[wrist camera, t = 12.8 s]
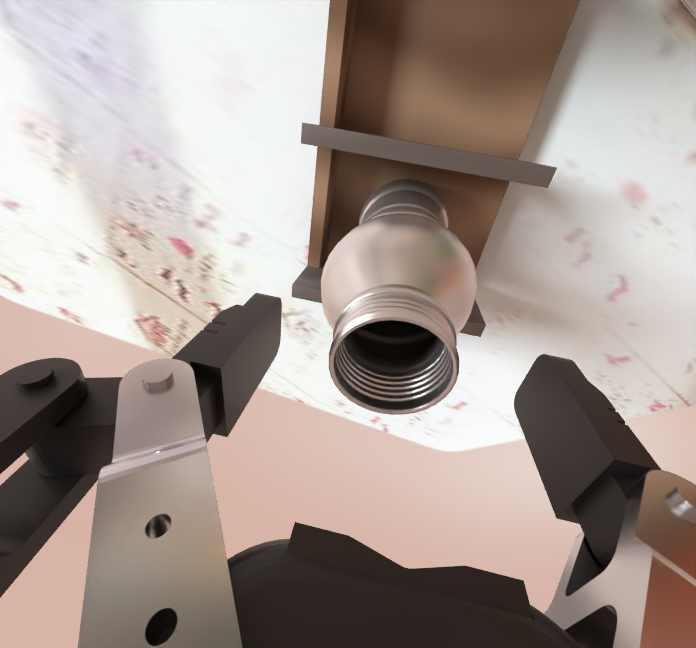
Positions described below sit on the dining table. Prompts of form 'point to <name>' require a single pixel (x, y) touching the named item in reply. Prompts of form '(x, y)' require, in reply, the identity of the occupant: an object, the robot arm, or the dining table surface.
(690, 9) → the tea box
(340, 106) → the wooden shelf rack
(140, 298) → the dining table surface
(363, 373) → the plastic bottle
